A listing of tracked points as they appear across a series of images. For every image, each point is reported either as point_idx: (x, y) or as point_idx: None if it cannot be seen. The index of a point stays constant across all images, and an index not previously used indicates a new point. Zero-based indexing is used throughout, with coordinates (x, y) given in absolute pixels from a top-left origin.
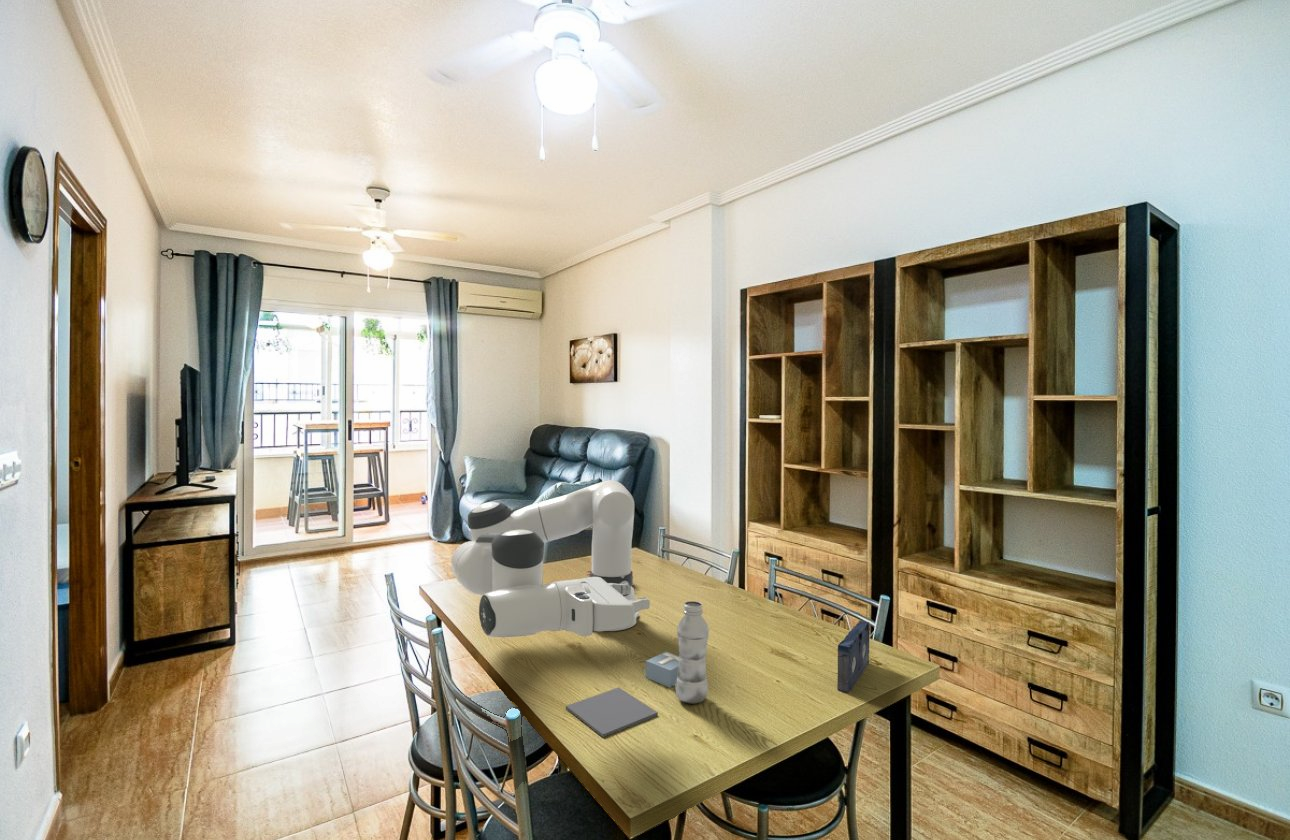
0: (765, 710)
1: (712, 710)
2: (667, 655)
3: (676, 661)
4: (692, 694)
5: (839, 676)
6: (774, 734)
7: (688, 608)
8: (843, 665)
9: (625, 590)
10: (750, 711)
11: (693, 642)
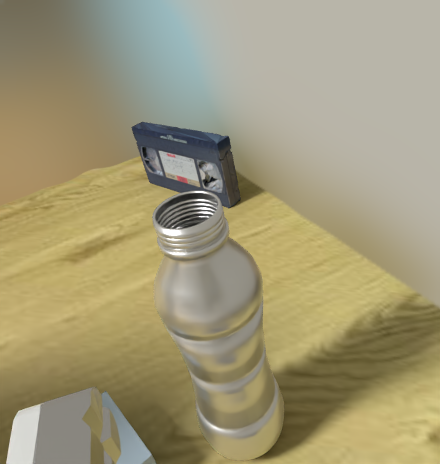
0: (295, 293)
1: (298, 384)
2: None
3: None
4: (283, 409)
5: (228, 187)
6: (386, 290)
7: (212, 226)
8: (229, 168)
9: (103, 459)
10: (300, 315)
11: (262, 304)
